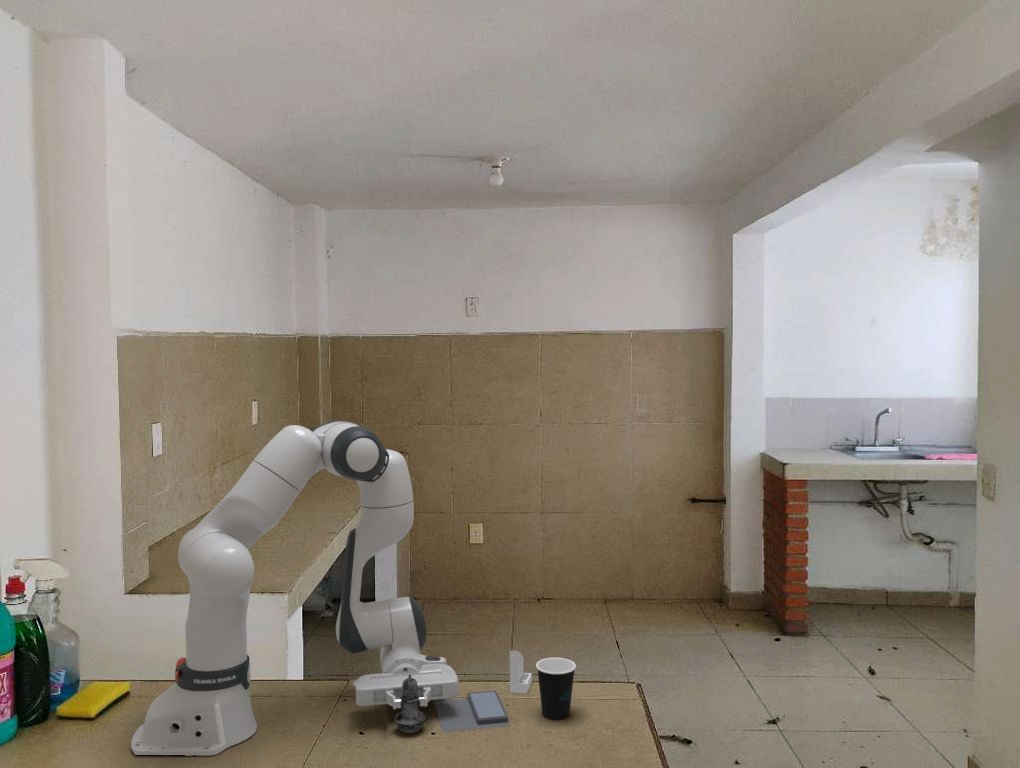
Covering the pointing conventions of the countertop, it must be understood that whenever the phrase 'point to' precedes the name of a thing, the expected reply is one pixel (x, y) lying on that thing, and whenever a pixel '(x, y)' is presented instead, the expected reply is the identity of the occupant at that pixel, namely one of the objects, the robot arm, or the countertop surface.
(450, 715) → the mat
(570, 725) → the countertop surface
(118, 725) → the countertop surface
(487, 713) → the phone
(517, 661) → the white angled block
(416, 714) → the stone finial ornament
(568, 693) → the dixie cup
